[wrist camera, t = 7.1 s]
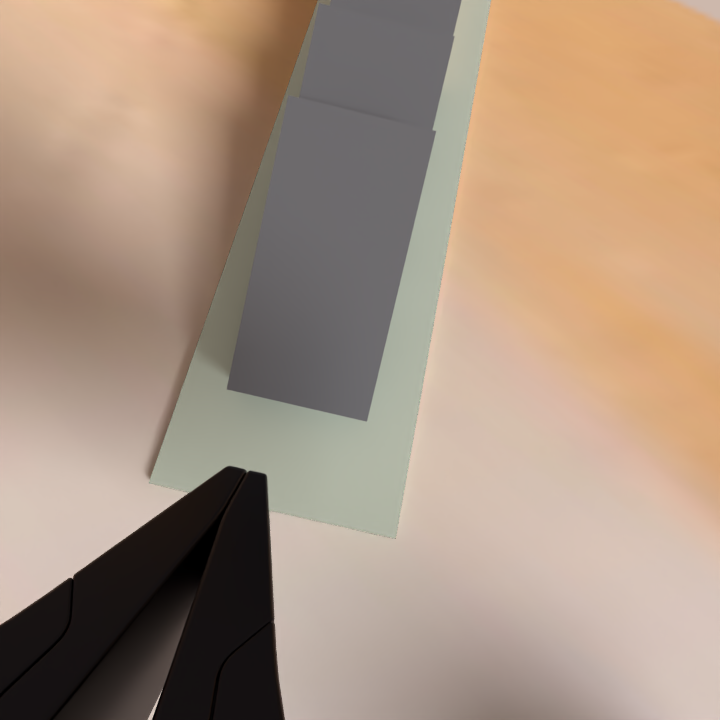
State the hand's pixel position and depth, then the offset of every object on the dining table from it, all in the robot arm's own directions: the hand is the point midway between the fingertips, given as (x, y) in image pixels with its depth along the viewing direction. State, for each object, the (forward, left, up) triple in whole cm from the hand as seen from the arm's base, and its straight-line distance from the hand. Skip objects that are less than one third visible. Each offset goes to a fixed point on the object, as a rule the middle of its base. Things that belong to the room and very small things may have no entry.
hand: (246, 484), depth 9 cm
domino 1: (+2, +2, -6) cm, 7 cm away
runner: (+12, +8, -7) cm, 16 cm away
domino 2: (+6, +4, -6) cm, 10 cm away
